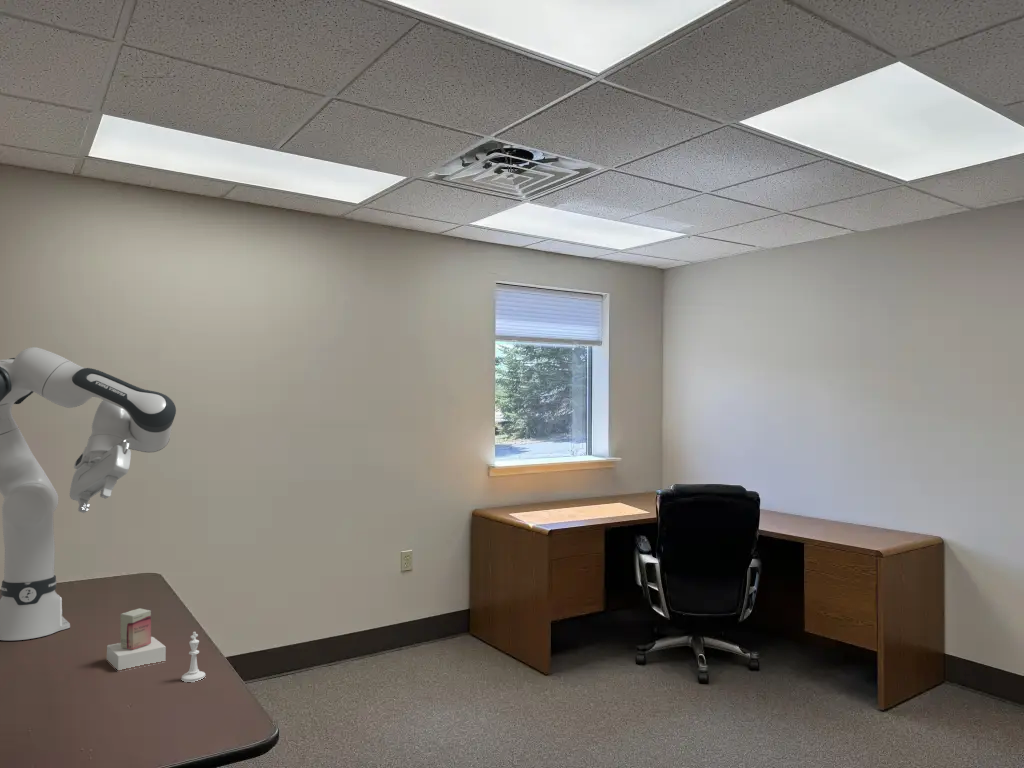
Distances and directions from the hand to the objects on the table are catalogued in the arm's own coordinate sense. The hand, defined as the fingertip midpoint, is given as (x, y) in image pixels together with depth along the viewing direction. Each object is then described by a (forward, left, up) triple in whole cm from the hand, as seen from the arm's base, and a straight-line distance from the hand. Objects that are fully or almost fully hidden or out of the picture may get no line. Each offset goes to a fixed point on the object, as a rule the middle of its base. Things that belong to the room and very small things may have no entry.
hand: (93, 504), depth 173 cm
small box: (+6, +9, -33) cm, 35 cm away
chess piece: (+25, +19, -36) cm, 48 cm away
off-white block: (+6, +9, -37) cm, 38 cm away
